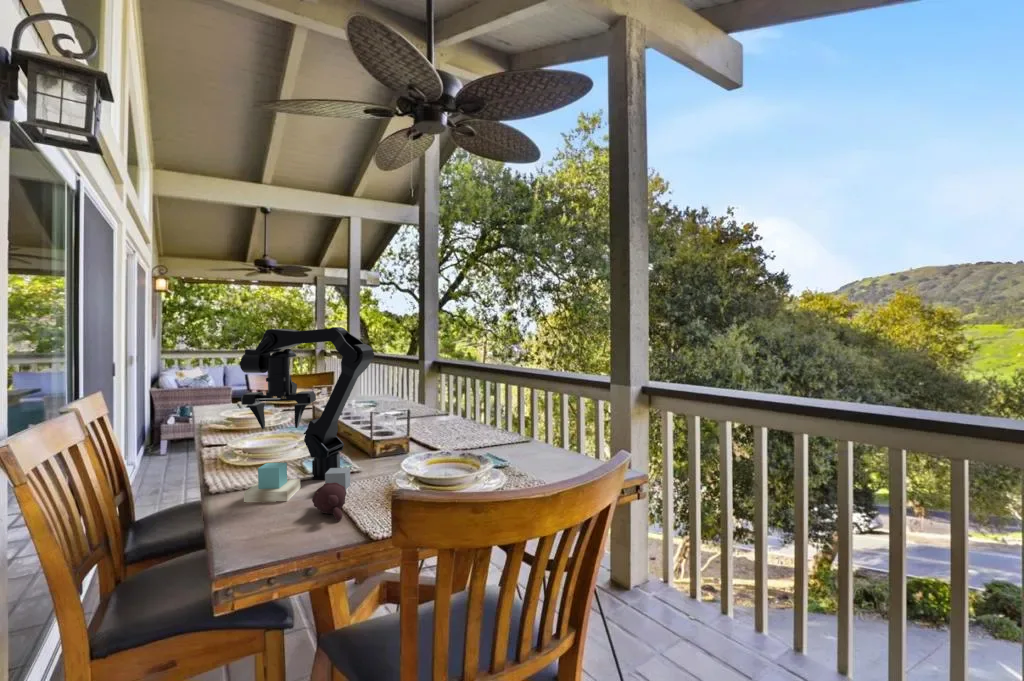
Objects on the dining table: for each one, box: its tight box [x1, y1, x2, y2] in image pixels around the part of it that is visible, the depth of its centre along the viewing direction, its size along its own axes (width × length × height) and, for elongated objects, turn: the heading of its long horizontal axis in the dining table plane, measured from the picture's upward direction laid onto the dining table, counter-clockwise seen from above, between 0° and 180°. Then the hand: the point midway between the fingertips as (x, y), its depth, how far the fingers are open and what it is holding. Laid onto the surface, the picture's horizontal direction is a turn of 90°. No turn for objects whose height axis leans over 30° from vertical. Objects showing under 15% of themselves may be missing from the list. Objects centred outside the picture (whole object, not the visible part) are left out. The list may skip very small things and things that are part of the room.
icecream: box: [311, 482, 347, 522], centre depth 117 cm, size 7×7×15 cm
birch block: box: [243, 478, 301, 503], centre depth 129 cm, size 10×10×3 cm
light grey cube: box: [324, 467, 351, 490], centre depth 133 cm, size 5×5×5 cm
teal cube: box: [257, 462, 288, 489], centre depth 129 cm, size 5×5×5 cm
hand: (280, 428), depth 147 cm, fingers open, 9 cm apart
